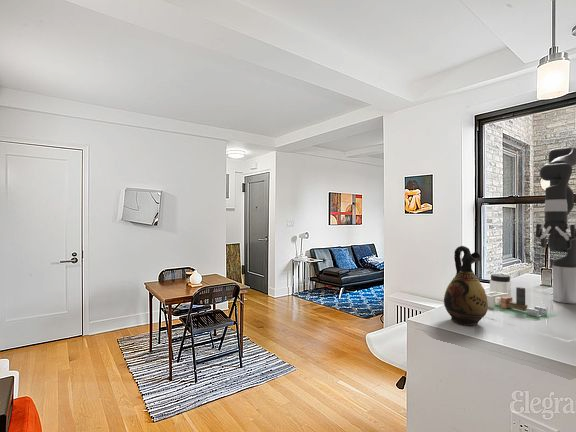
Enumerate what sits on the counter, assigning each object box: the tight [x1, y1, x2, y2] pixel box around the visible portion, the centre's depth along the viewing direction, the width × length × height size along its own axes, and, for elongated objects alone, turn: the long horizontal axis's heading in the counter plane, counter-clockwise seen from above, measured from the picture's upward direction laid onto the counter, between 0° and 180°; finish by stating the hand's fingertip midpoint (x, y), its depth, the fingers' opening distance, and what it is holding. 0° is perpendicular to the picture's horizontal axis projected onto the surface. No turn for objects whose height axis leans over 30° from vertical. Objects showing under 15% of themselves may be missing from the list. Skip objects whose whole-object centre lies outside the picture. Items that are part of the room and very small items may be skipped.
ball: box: [495, 297, 501, 306], centre depth 150 cm, size 4×4×4 cm
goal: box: [485, 291, 509, 308], centre depth 151 cm, size 11×6×6 cm, turn 114°
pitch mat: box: [488, 305, 558, 322], centre depth 143 cm, size 16×25×1 cm, turn 24°
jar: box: [489, 273, 512, 297], centre depth 164 cm, size 9×8×12 cm
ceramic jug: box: [443, 245, 489, 327], centre depth 129 cm, size 17×15×30 cm
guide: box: [527, 305, 548, 318], centre depth 135 cm, size 7×4×3 cm, turn 114°
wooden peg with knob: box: [501, 286, 528, 311], centre depth 143 cm, size 5×9×10 cm, turn 24°
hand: (555, 248), depth 138 cm, fingers open, 8 cm apart
